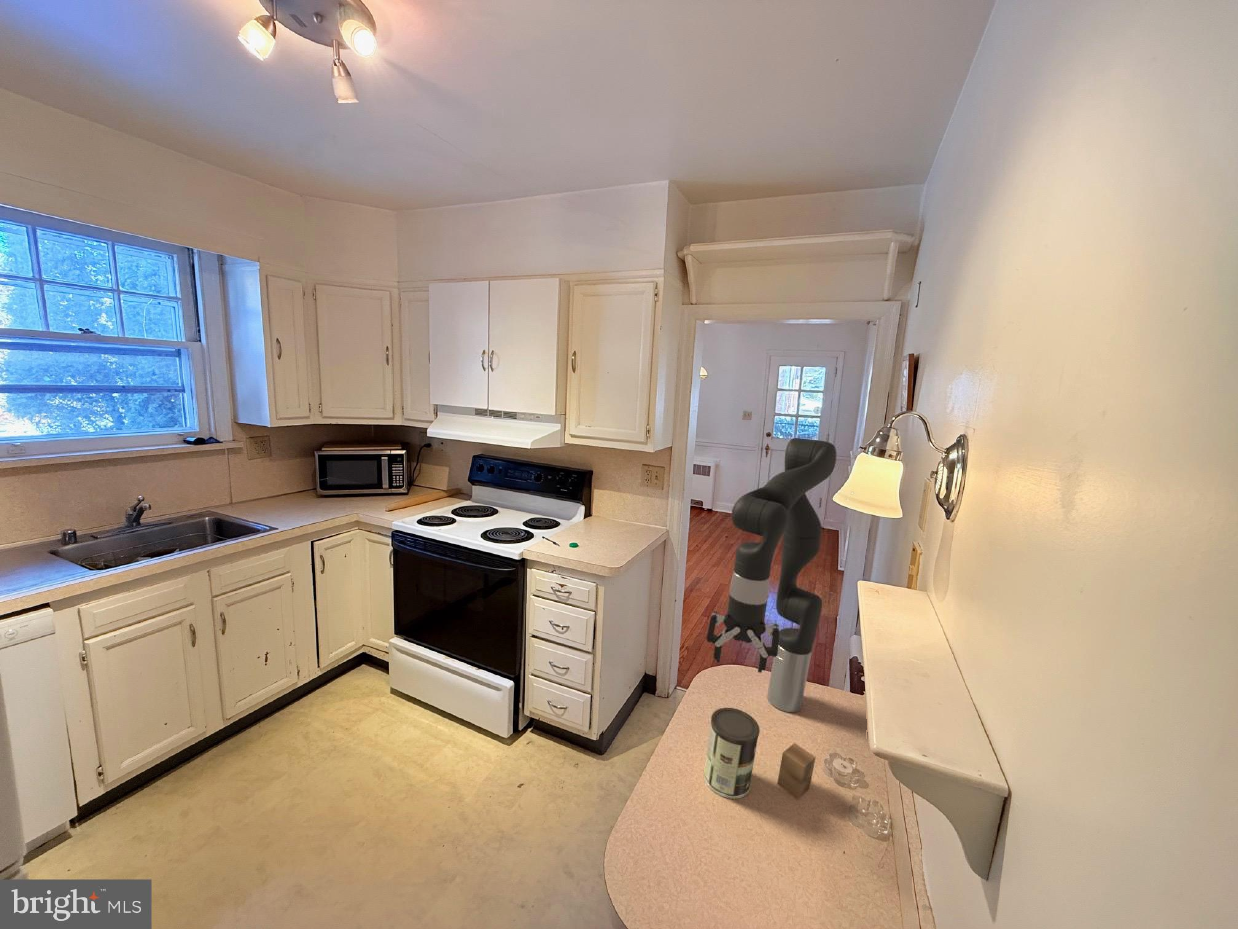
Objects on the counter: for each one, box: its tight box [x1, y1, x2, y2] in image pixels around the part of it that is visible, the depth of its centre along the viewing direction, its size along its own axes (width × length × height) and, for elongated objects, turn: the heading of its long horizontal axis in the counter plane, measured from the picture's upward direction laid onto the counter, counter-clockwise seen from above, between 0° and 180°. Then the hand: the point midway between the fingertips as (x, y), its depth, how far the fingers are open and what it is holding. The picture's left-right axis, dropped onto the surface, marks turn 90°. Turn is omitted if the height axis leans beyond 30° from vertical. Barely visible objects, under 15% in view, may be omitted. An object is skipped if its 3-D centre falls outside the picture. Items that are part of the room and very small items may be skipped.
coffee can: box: [703, 707, 760, 800], centre depth 106 cm, size 10×10×14 cm
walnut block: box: [776, 742, 816, 800], centre depth 107 cm, size 5×5×8 cm
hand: (738, 665), depth 102 cm, fingers open, 8 cm apart
